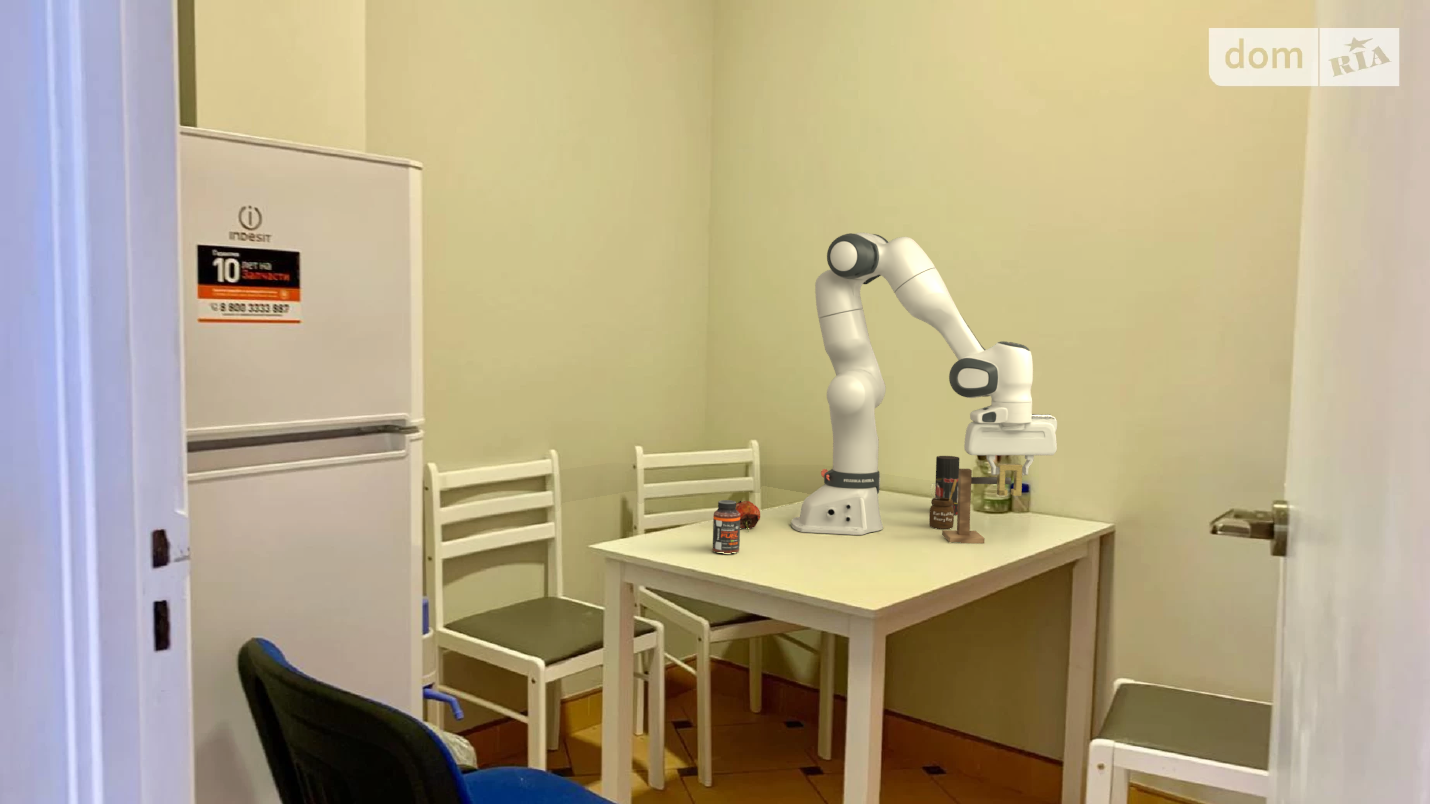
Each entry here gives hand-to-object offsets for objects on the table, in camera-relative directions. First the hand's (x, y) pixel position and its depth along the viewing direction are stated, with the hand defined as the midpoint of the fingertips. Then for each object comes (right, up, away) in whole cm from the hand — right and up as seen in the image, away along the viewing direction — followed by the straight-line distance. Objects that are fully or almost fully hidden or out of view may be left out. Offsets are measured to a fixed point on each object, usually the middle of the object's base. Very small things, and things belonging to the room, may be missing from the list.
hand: (1009, 474), depth 232 cm
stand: (-5, -16, +9) cm, 19 cm away
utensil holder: (-10, -15, +22) cm, 28 cm away
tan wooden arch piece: (0, -5, 0) cm, 5 cm away
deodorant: (-6, -13, +39) cm, 41 cm away
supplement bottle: (-64, -17, -6) cm, 67 cm away
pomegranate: (-59, -15, +17) cm, 63 cm away
